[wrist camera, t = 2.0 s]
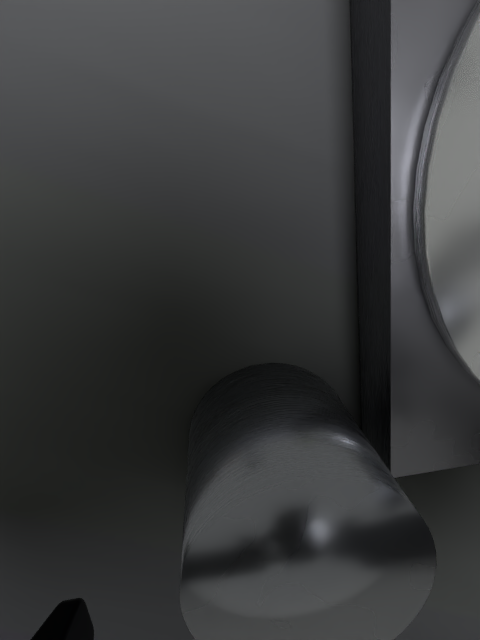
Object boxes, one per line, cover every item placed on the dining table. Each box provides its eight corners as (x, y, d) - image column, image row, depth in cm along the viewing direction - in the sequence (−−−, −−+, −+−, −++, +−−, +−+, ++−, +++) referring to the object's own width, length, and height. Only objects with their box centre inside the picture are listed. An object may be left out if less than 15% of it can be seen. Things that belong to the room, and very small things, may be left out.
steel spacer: (347, 487, 13) (431, 652, 8) (201, 511, 13) (201, 696, 8) (342, 351, 11) (441, 457, 7) (176, 376, 11) (156, 504, 6)
